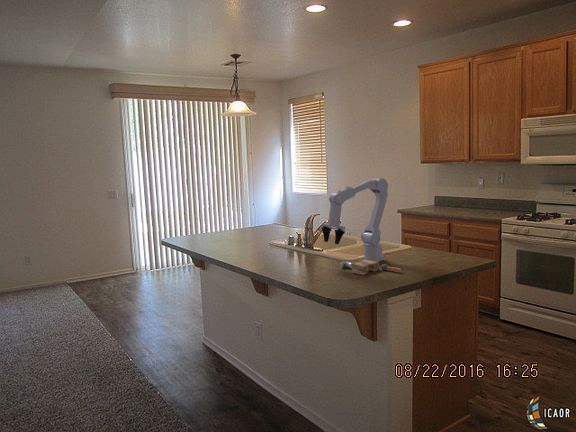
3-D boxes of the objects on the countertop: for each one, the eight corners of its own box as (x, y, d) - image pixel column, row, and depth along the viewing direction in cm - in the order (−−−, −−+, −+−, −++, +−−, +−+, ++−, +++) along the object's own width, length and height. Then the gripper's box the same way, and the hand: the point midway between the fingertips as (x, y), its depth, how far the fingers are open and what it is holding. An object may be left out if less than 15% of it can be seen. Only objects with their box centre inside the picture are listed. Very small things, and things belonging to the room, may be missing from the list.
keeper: (380, 269, 233) (380, 265, 233) (384, 268, 235) (384, 264, 235) (399, 273, 225) (399, 268, 225) (402, 271, 227) (402, 267, 227)
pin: (340, 268, 242) (340, 262, 242) (348, 266, 246) (347, 260, 245) (352, 270, 236) (352, 264, 235) (360, 268, 239) (360, 262, 239)
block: (368, 267, 240) (367, 259, 239) (379, 269, 234) (378, 261, 234) (352, 272, 232) (351, 264, 231) (363, 274, 227) (362, 266, 226)
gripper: (319, 214, 246) (315, 240, 246) (339, 217, 235) (336, 245, 235) (328, 215, 250) (325, 240, 251) (349, 218, 239) (346, 245, 240)
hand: (331, 242), depth 243 cm, fingers open, 7 cm apart
